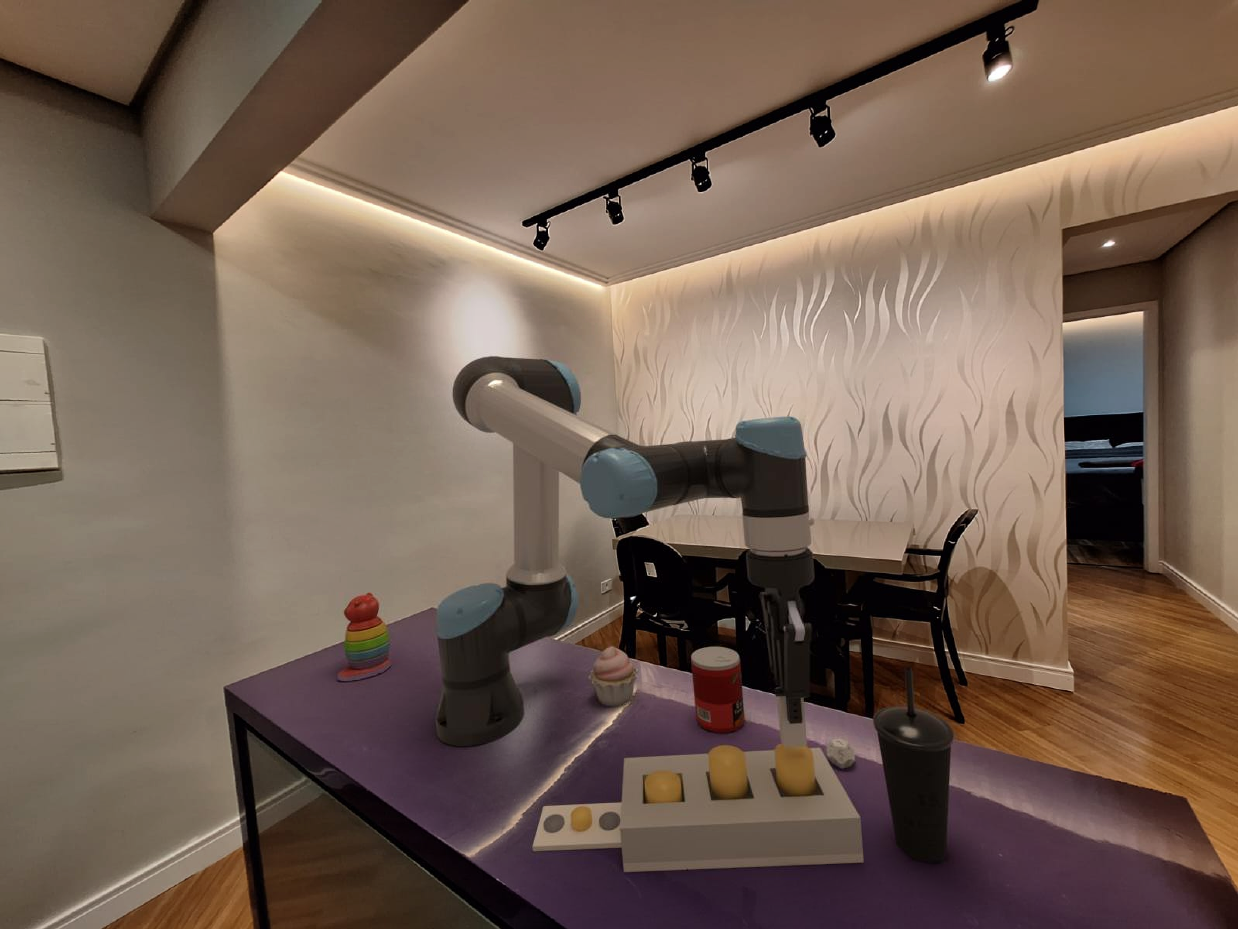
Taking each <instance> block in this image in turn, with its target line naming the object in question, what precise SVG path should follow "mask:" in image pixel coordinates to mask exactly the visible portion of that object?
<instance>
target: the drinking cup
mask: <svg viewBox="0 0 1238 929" xmlns="http://www.w3.org/2000/svg"><path fill="white" fill-rule="evenodd" d="M904 676H905V678H904V680H905V693H906V696H905V697H906V706H887V707H884V708H881V709H879V710H878V711H876V712H875V713H874V714H873V716H872V723H873V727H874V729H875V731H876V733H877V739H878V744H879V745H878V746H879V750H880V757H881V763H882V768H883V773H884V774H883V775H884V780H885V785H886V792H887V797H888V804H889V807H890V808H889V810H890V815H891V820H892V827H893V832H894V837H895V842H896V844H897V845H898V847H899V848H900V849H901V850H902V851H903V852H904V853H905V854H906V855H907V856H909V857H911V858H913V859H915V860H917V861H920V862H923V863H929V864H930V863H931V864H932V863H938V862H941V861H943V860H944V859H945V858H946V855H947V845H948V844H947V843H948V841H947V839H948V818H949V802H950V800H949V799H950V797H949V796H950V795H949V794H950V776H951V774H950V773H951V754H952V753H951V752H952V746H953V743H954V741H955V733H954V731H953V730H954V729H953V728H952V727H951V725H950V724H949V723H948V722H946V720H944V719H943V718H941V717H939V716H937V715H935V714H934V713H931V712H928V711H926V710H923V709H920V708H919V709H918V708H915V699H914V697H915V696H914V695H915V694H914V682H913V669H912V667H908V666H907V667H904Z"/></svg>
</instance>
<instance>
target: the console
mask: <svg viewBox="0 0 1238 929" xmlns="http://www.w3.org/2000/svg"><path fill="white" fill-rule="evenodd" d="M808 748H809V749H810V750H811V751H812V752H813V757H814V771H815V784H816V791H815V793H814V794H813V795H812V796H798V797H790V796H788V795H786V794H784V793H783V792H782V791H781V790H780V789H779V788H778V786H777V776H776V763H775V749H770V750H753V751H742V752H743V753H744V754H745V759H746V771H747V784H748V793H747V795H746V797H745V798H743V799H736V800H720V799H718V798H717V797H716V796H715V795H714V794H713V793H712V791H711V783H710V771H709V759H708V754H709V753H695V754H678V755H676V754H675V755H674V754H673V755H661V756H660V755H658V756H657V755H656V756H640V757H639V756H637V757H624V758H623V777H622V788H621V789H622V791H621V802H622V804H621V820H620V834H621V845H622V847H621V855H622V864H623V865H622V866H623V867H622V868H623V873H633V872H658V871H660V872H661V871H682V870H683V871H685V870H687V869H688V870H705V869H706V870H709V869H733V868H734V869H735V868H754V867H755V868H757V867H762V868H763V867H783V866H784V867H787V866H805V865H808V866H809V865H827V864H828V865H830V864H831V865H832V864H854V863H855V864H858V863H861V864H862V863H864V862H865V861H864V849H863V837H862V836H863V835H862V819H861V816H860V814H859V813H858V811H857V810H856V807H855V806H854V804H853V802H852V800H851V798H850V796H848V793H847V792H846V790H845V788H844V787H843V785H842V783H841V781H840V780H839V778H838V776H837V775H836V773H835V771H834V770H833V768H832V766H831V764H830V761H828V758H827V756H826V755H825V754H824V752H823V751H822V749H821V747H808ZM658 770H668V771H672V772H674V773H676V774H677V775H678V776H679V778H680V781H681V792H682V802H673V803H652V804H646V793H645V779H646V777H647V776H648V775H649V774H651V773H652V772H655V771H658Z"/></svg>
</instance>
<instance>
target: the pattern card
mask: <svg viewBox="0 0 1238 929" xmlns="http://www.w3.org/2000/svg"><path fill="white" fill-rule="evenodd" d="M621 804H622V801H621V802H605V803H603V802H601V803H584V804H583V803H581V804H563V805H562V804H560V805H545V806H543V807H542V811H541V814H540V818H539V822H538V826H537V829H536V833H535V837H534V840H533V843H532V852H548V851H572V850H589V849H590V850H594V849H616V848H617V849H618V848H621V849H622V845H621V834H620V820H621Z"/></svg>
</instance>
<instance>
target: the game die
mask: <svg viewBox="0 0 1238 929" xmlns="http://www.w3.org/2000/svg"><path fill="white" fill-rule="evenodd" d="M826 758H827V759H828V760H829V762H831V763H832V764H833V765H834V766H836V767H838V768H840V769H841V770H842V769H844V768H850V767H851V766H852V765H853V764H854V762H855V761H856V758H855V749H854V748H853V747H852V746H851V744H850V743H849V742H848V741H846V740H844V739H843V738H840V737H838V738H835V739H834V738H833V739H831V740H830V741H829V742H828V744H827V745H826Z"/></svg>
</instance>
